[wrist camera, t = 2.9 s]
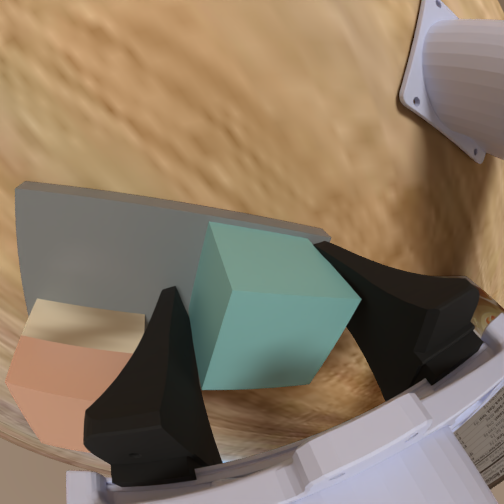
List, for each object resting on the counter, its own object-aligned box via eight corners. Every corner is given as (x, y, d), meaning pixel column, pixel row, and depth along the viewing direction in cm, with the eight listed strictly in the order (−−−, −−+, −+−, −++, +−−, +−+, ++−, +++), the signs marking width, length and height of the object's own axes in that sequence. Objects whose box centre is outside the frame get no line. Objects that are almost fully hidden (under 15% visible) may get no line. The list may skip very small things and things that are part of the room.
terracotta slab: (144, 354, 11) (145, 406, 8) (142, 417, 13) (145, 458, 11) (21, 335, 9) (5, 381, 6) (47, 404, 11) (41, 442, 9)
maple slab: (144, 314, 13) (144, 354, 11) (140, 382, 15) (142, 417, 13) (37, 298, 11) (21, 335, 9) (53, 370, 13) (47, 404, 11)
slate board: (321, 228, 14) (331, 237, 13) (256, 374, 19) (260, 386, 18) (25, 181, 9) (15, 188, 8) (47, 358, 14) (44, 370, 13)
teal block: (307, 238, 13) (361, 299, 9) (275, 315, 15) (309, 384, 11) (208, 221, 11) (232, 290, 8) (188, 310, 13) (201, 389, 9)
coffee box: (467, 272, 21) (578, 384, 8) (437, 327, 24) (527, 438, 10) (409, 273, 18) (557, 440, 5) (373, 341, 21) (480, 497, 7)
